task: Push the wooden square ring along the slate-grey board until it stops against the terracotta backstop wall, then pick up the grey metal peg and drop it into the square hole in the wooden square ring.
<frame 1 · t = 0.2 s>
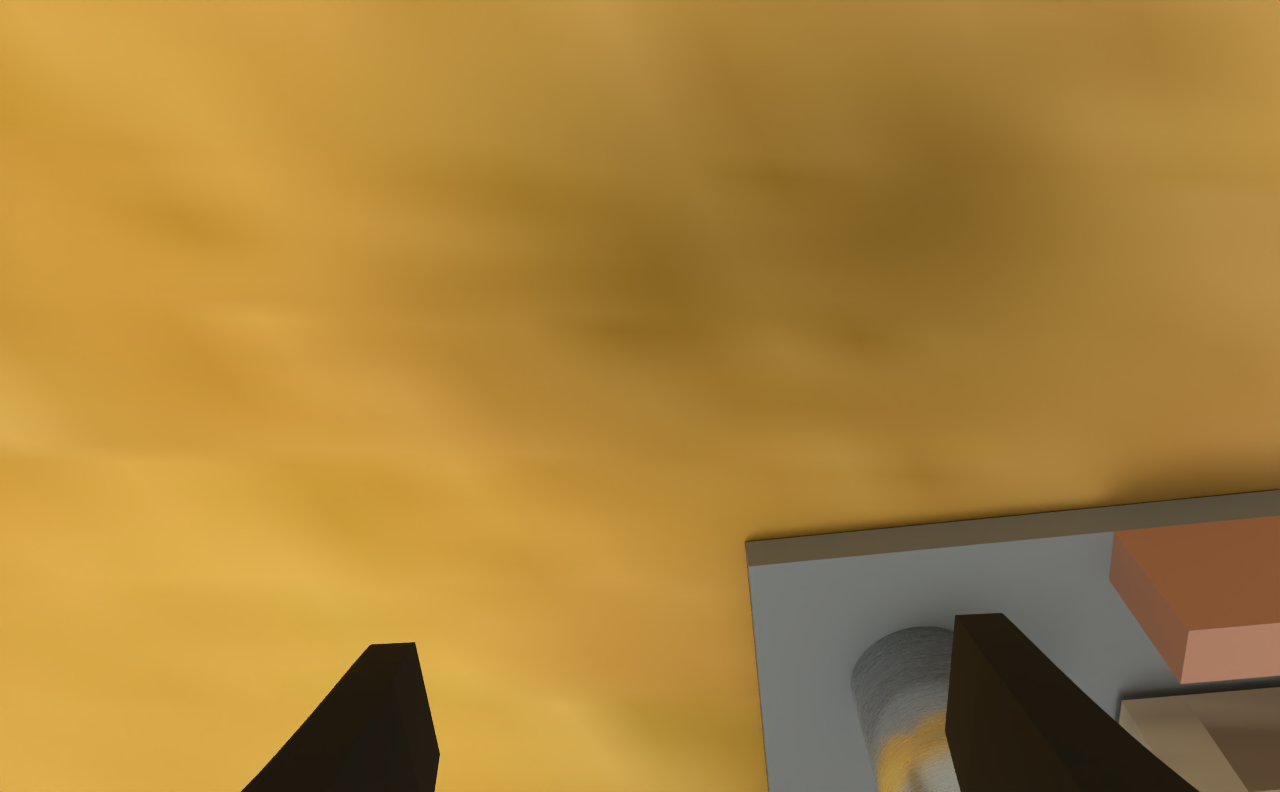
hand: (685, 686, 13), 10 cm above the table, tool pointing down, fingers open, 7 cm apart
peg: (918, 679, 25), point 1 cm above the table, touching board
board: (1097, 693, 26), on the table
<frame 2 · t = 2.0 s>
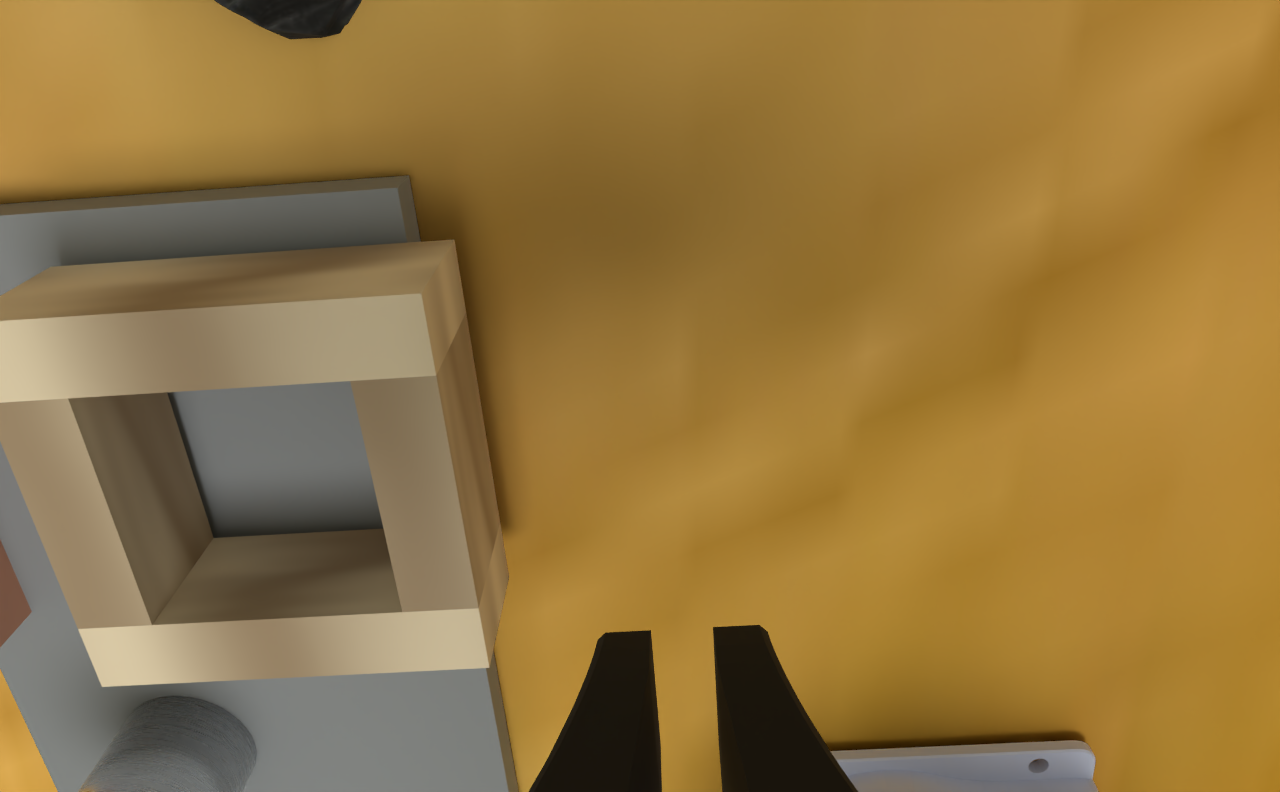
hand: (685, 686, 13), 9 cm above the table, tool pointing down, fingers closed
wooden square ring: (272, 469, 19), point 3 cm above the table, slide at 0.0 cm
peg: (190, 746, 25), point 1 cm above the table, touching board
board: (231, 559, 24), on the table
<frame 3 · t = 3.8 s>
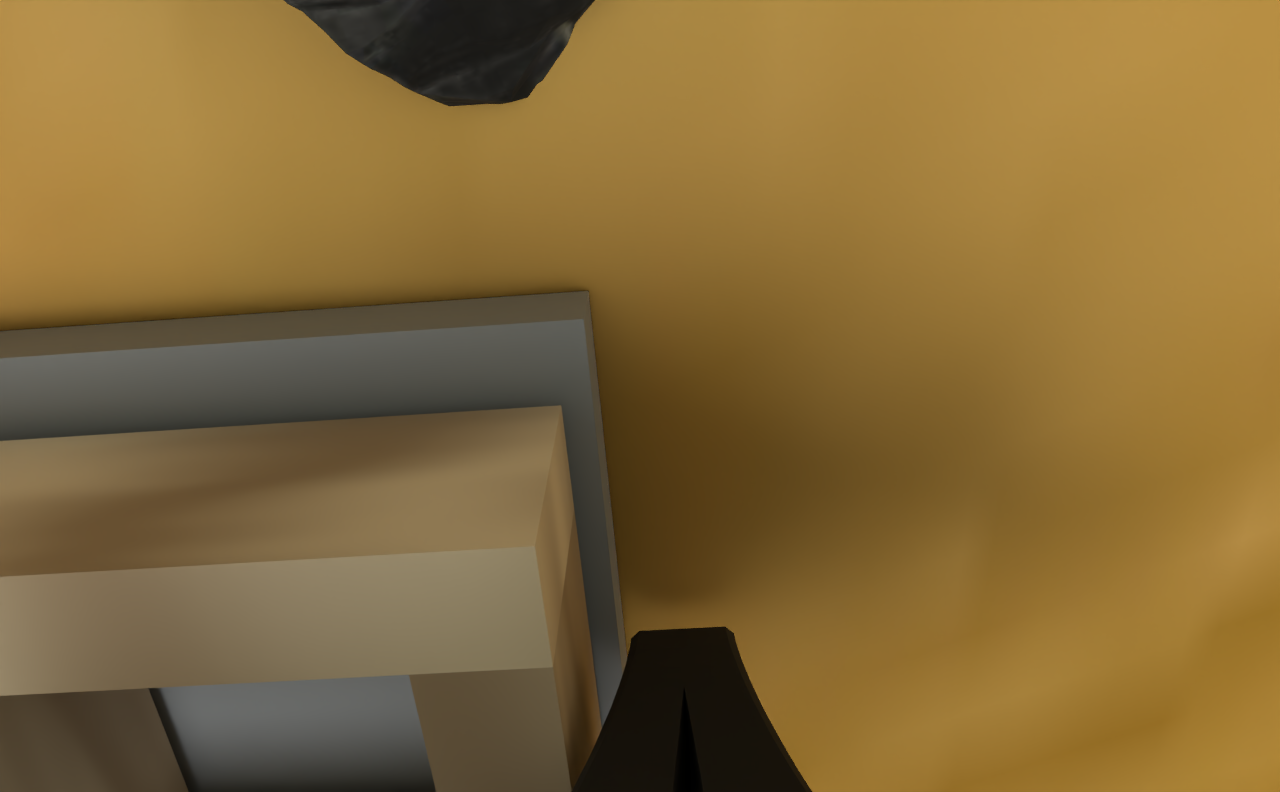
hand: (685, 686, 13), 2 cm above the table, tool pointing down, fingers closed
wooden square ring: (279, 752, 13), point 3 cm above the table, slide at 1.4 cm, touching gripper
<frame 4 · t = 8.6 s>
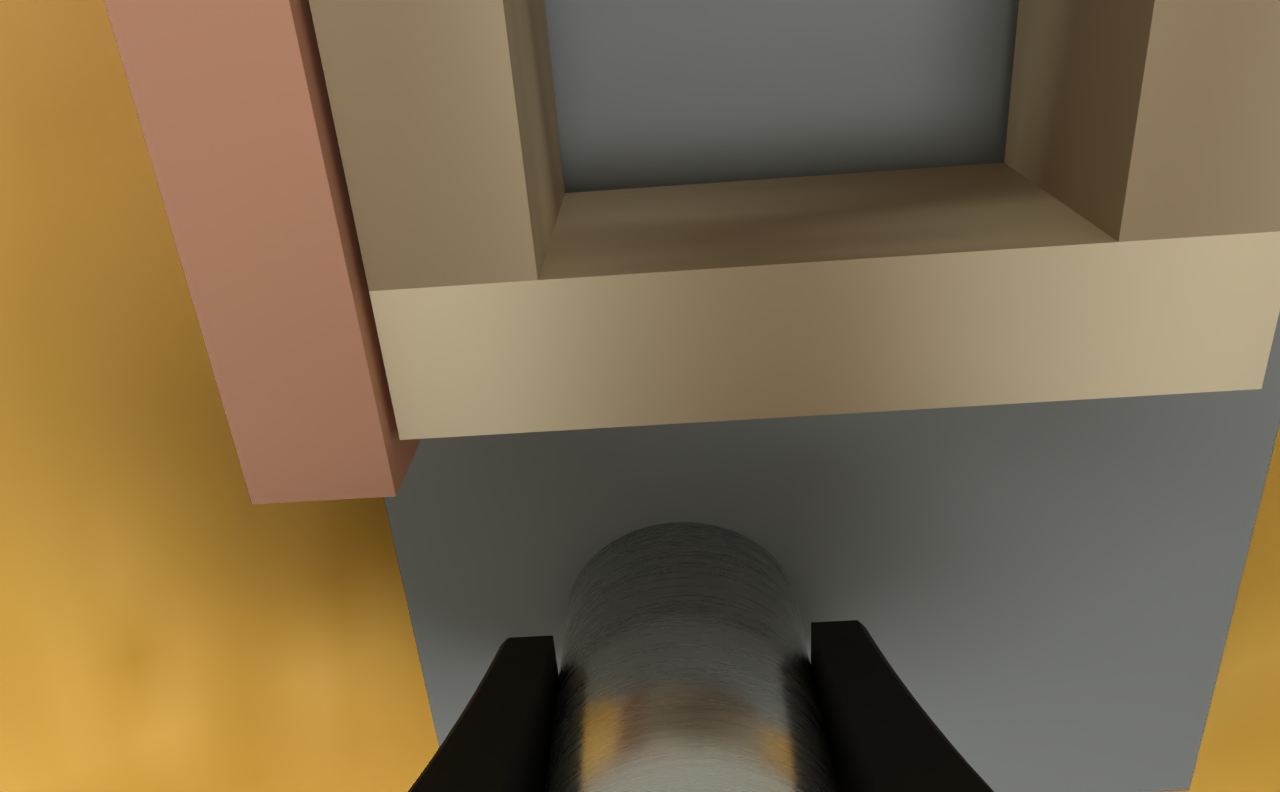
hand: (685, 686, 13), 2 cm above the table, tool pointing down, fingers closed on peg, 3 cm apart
peg: (682, 619, 14), point 1 cm above the table, touching board, gripper
board: (810, 263, 13), on the table
when the fingers open (5 cm above the table, at t = 11.2 s): peg drops 2 cm, resting on board.
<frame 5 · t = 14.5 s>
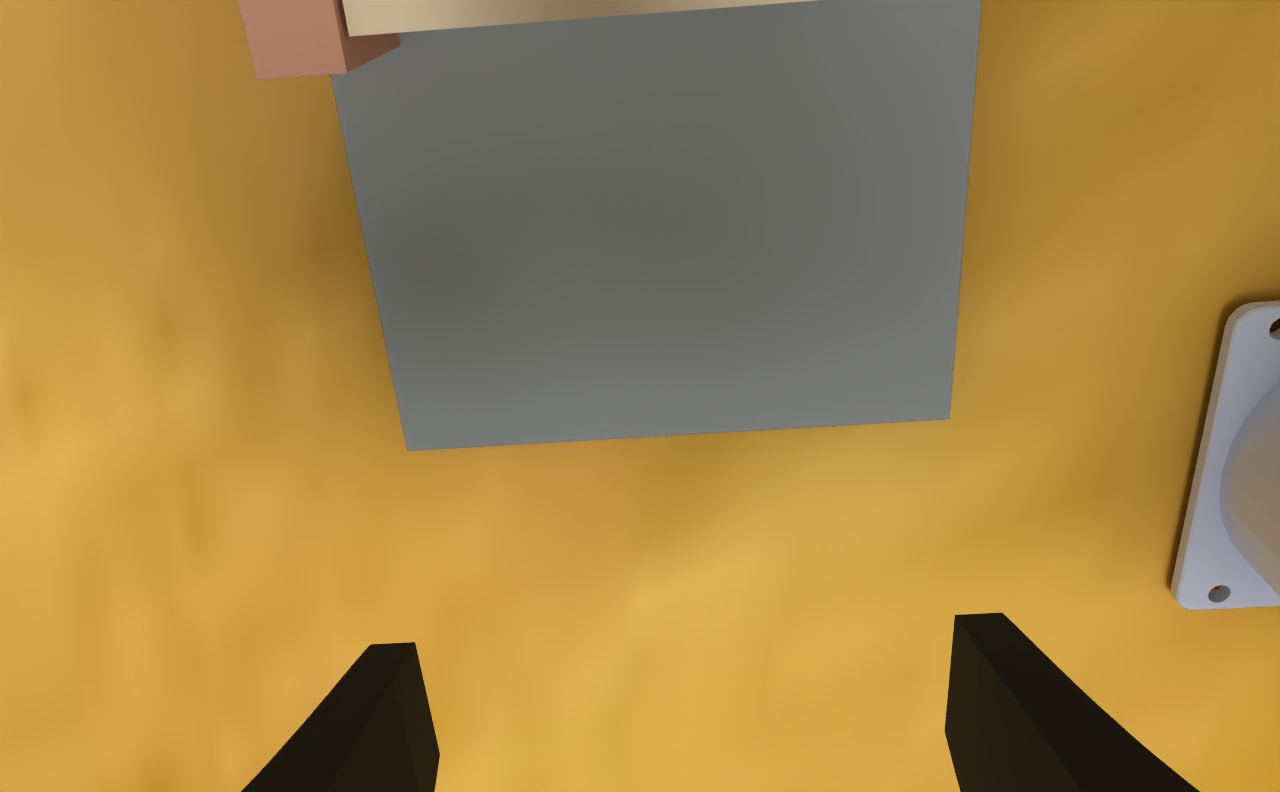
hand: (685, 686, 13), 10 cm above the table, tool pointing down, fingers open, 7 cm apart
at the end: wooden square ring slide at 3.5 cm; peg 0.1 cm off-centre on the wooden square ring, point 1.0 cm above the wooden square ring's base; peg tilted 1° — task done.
